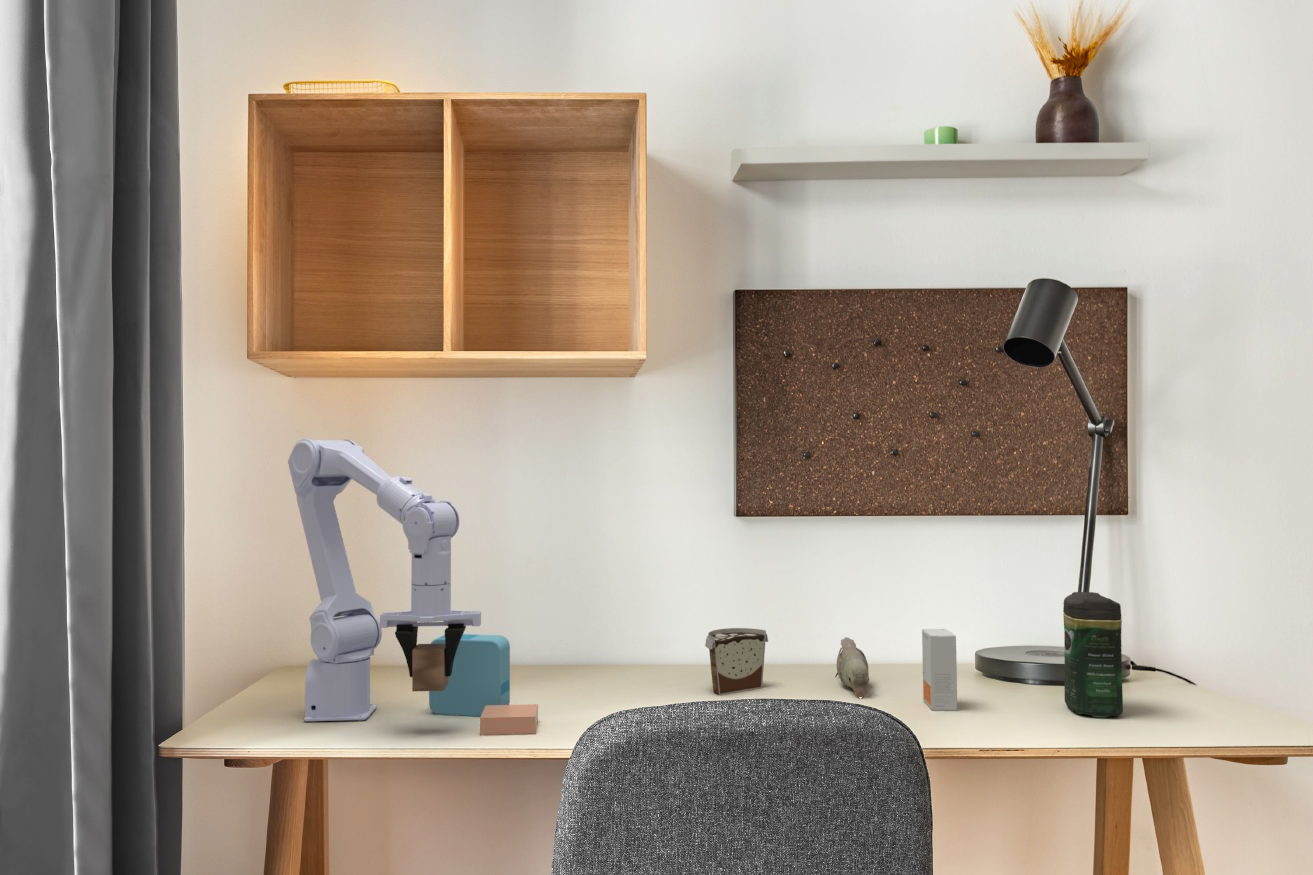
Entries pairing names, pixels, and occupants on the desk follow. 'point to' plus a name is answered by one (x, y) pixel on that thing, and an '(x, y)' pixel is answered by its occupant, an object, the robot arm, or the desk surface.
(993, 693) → the desk surface
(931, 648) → the skincare box
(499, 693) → the teal rounded block
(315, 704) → the robot arm
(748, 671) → the food container
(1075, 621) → the coffee jar
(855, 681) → the decorative bird
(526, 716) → the terracotta plinth
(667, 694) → the desk surface
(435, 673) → the walnut block
